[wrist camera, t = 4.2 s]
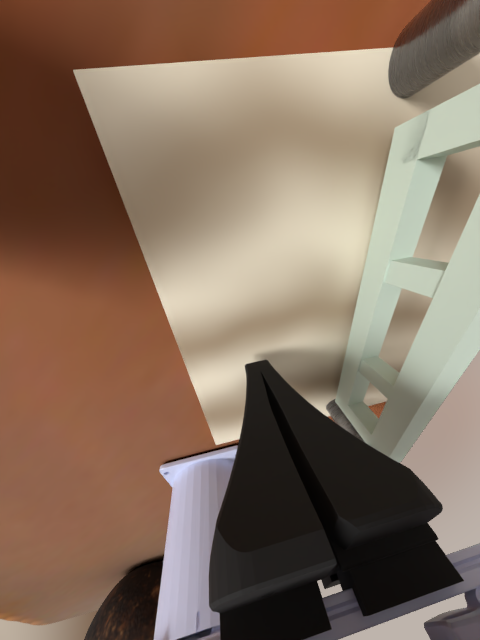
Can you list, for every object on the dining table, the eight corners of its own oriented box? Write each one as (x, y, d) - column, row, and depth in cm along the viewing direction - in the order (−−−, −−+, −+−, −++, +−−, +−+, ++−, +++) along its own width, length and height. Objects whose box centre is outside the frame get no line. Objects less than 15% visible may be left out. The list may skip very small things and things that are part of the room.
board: (409, 384, 18) (419, 392, 17) (215, 433, 16) (216, 444, 15) (577, 54, 8) (626, 31, 7) (92, 92, 6) (73, 70, 5)
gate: (348, 397, 14) (401, 461, 11) (335, 401, 14) (383, 467, 10) (423, 124, 7) (740, -23, 3) (394, 127, 6) (679, -19, 3)
